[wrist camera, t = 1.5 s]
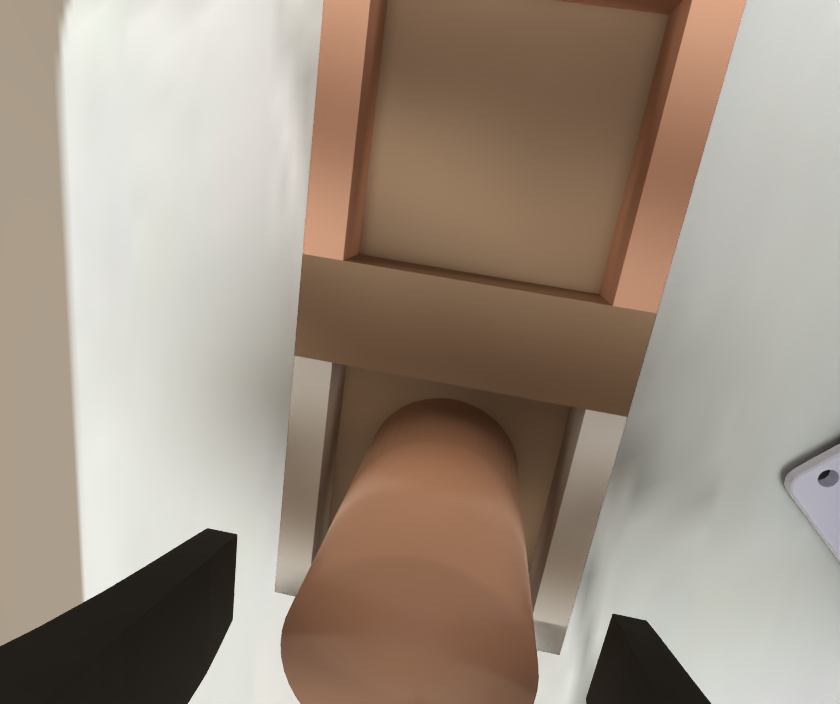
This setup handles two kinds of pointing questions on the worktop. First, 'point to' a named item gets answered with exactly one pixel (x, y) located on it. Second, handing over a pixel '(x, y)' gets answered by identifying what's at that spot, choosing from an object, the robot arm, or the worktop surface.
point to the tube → (421, 573)
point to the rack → (493, 242)
